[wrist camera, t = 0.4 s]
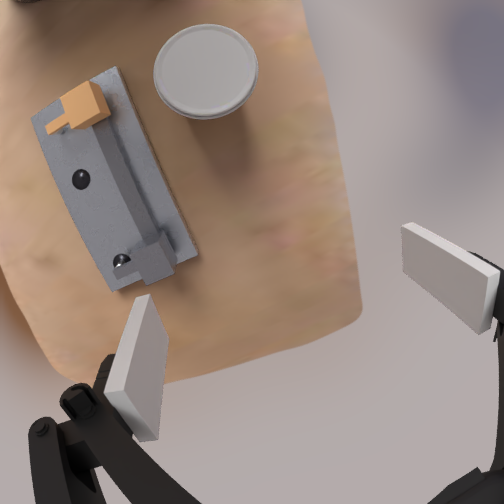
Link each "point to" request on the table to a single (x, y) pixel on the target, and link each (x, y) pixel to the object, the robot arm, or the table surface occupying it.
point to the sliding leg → (80, 108)
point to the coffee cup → (205, 71)
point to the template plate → (117, 190)
